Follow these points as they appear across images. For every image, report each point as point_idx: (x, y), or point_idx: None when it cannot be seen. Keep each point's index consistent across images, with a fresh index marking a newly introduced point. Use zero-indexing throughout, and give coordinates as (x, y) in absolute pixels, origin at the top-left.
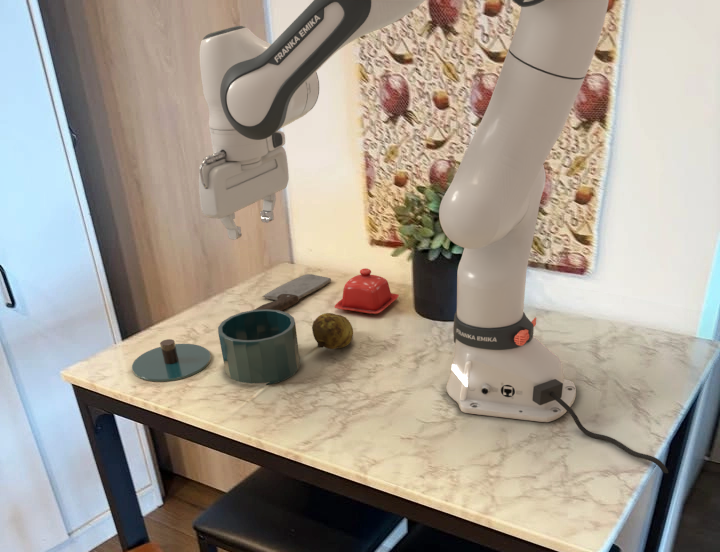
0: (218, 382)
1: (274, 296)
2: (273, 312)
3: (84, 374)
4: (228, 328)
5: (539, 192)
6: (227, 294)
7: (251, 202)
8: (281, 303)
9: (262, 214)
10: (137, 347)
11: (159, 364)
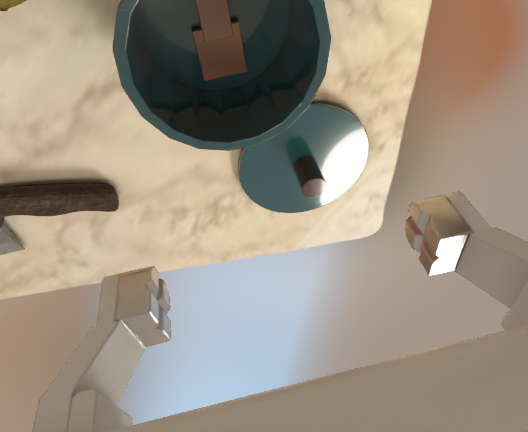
0: None
1: (4, 232)
2: (139, 90)
3: (375, 219)
4: (250, 126)
5: None
6: (72, 286)
7: (401, 373)
8: (12, 197)
9: (166, 320)
10: (284, 235)
11: (323, 169)
